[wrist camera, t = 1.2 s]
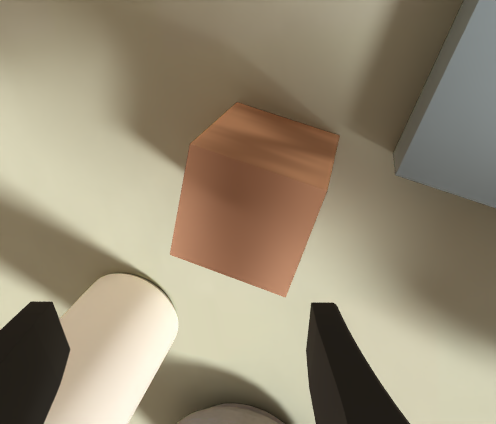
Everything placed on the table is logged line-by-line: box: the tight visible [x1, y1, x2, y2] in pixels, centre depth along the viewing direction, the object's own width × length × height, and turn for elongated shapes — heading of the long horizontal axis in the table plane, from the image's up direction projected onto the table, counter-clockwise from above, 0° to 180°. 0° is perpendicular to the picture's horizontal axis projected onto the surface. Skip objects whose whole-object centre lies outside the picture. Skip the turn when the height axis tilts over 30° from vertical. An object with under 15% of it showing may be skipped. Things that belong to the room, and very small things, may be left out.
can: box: [44, 273, 178, 424], centre depth 23 cm, size 6×6×12 cm
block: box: [170, 102, 340, 297], centre depth 18 cm, size 5×5×6 cm
